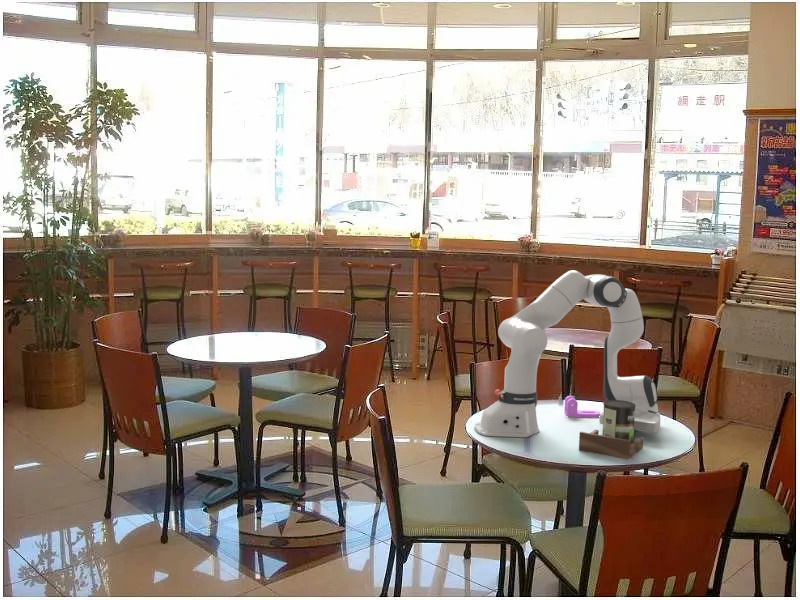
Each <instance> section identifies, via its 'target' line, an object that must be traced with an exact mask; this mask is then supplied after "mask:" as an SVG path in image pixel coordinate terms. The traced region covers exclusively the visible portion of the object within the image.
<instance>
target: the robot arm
mask: <svg viewBox="0 0 800 600" xmlns="http://www.w3.org/2000/svg"><path fill="white" fill-rule="evenodd" d="M581 301H583V302H585V303H587V304H591V305H593V306H599V307H605V308H607V310H608V312H609V316H610V324H611V325H610V326H611V327H610V332H609V334H608V335H606V336H605V339H604V344H603V345H604V346H603V385H602V395H603V398H604V399H605V401H609V400H622V401H628V402H632V403H634V404H635V405H636V406H635V417H634V432H643V433H651V434H658V433H659V432H660V428H661V413H659V407H658V403H657V402H658V399H659V398H658V395H659V394H658V388H657V385H656V383H655V382H654V380H653V379H652V378H651V377H650V376H648V375H633V376H619V375H618V353H619V351H620V350H622V349H624V348H626V347H628V346H631V345H632V344H635V343H636V341H638V340H639V339H640V338H641V337H642V336H643V335H644V334H643V333H644V330H645V328H644V325H645V324H644V317H643V312H642V309H641V304H640V302H639V299H638V296H637V294H636V292H635V291H634V290H633V289H630V288H625V287H624V286H623V283H622V282H621V281H620V280H619V279H617V277H614V276H612V275H606V274H602V273H596V274H594V273H589V274H585V275H584V274H583V273H581V272H580V271H578V270H574V269H573V270H572V269H571V270H568V271H566V272H565V273H563V274H562V275H561V276H560V277H558V278H557V279H555V281H553V282H552V283H551V284H550V285H549V286H548V287H547V288H546V289H545V290H544V291H543V292H542V293H541V294H540V295H538V296H537V297H536V299H535V300H534V301H533V302H531V303H529V305H527V306H525V307H524V308H523V309H521V310H520V311H519V312H517V313H516V314H514V315H512V316H511V317H508V318H506V319H504V320H502V322H501V323H500V324H499V326H498V329H497V334H498V338H499V339H500V341H501V342H502V344H503V345H504V346H506V347H508V348H509V349H510V351H511V352H510V356H509V359H508V363H507V364H506V366H505V367H504V381H503V382H504V384H503V386H504V387H503V389H502V390H500V389H495V391H494V394H495V395H496V396H497V399H498V400H496V401H495V402H494V403H492V404H491V405H490V406H488V407H487V408H485V409H484V410H483V412H482V415H481V419H480V422H476V423H475V424H474V430H475V432H477V433H478V434H479V435H481V436H485V437H509V438H529V437H530V436H532V435H535V434H538V433H539V432H540V428H539V424H538V419H537V408H536V407H537V405H538V392H537V374H538V366H539V363H540V359H541V356H542V353H543V352H544V351H545V350H546V349H547V345H548V335H547V334H546V332H545V330H547V329H548V328H550V327H552V326H556V325H557V324H558V323H559V322H561V320H562V319H564V317H565V316H566V315H567V314H568V313H569V312H570V311H571V310H572V309H573V308H575V306H576V305H577V304H578V303H579V302H581ZM598 419H599V424H600V425H603V412H602V413H601V412H600V417H599V418H598Z"/></svg>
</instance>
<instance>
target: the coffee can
mask: <svg viewBox="0 0 800 600" xmlns="http://www.w3.org/2000/svg"><path fill="white" fill-rule="evenodd" d="M635 406H636V405H635V404H634V403H632V402H628V401H622V400H609V401H607V400H604V402H603V412H602V413H603V424H602V434H601V435H603V436H609V437H614V438H620V439H625V440H631V444H632V443H633V442H634V436H635V435H634V432H635V431H634V417H635Z"/></svg>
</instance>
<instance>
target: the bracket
mask: <svg viewBox="0 0 800 600" xmlns="http://www.w3.org/2000/svg"><path fill="white" fill-rule="evenodd" d="M578 406H579V404H578V401H577V400H576V398H575V397H574V396H573V395H567V396H566V397H565V399H564V415H565V414H566V415H565V416H566V417H567V416H572V417H571V418H592V417H597V418H600V417H599V416H600V414H601V411H598V410H589V409H585V410H583V409H578Z"/></svg>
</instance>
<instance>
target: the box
mask: <svg viewBox="0 0 800 600" xmlns="http://www.w3.org/2000/svg"><path fill="white" fill-rule="evenodd" d="M599 432H600V430H599V429H594V430H592V431H591V432H586V431H580V432H579V437H578V438H579V440H578V441H579V442H578V451H580V452H585V453H591V454H594V455H595V454H597V455H602V456H605V457H606V456H607V457H611V458H617V459H622V460H627V461H629V460H630V459H631V458H633V457H634V456H635V455H636V454H637V453H639V452H640V451H641V450H642V448H643V449H644V437H637V439H636V440H633V443H632V444H631V440H625V439H620V438H614V437H609V436H603V435H602V434H599Z"/></svg>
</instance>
